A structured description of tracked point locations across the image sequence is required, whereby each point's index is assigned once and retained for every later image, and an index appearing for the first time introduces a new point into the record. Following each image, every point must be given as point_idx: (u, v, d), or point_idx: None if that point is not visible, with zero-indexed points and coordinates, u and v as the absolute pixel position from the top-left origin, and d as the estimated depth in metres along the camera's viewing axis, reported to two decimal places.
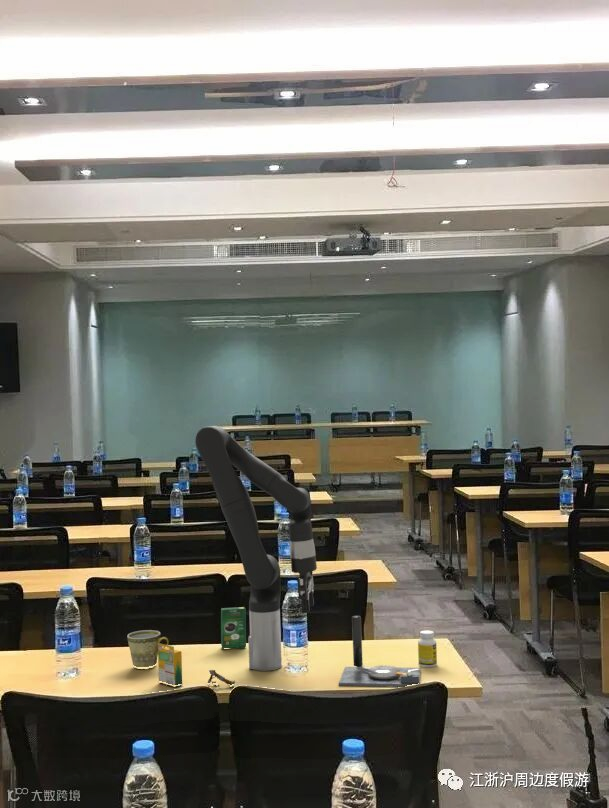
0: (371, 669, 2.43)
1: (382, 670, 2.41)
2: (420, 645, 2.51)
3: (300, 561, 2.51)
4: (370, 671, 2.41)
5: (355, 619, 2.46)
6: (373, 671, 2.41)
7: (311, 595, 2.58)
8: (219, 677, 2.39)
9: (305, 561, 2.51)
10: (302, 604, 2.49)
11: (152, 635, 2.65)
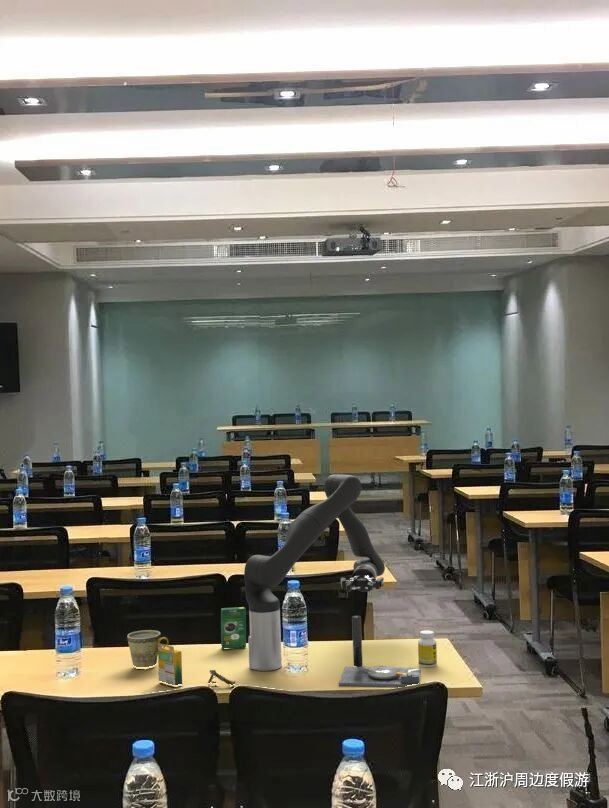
0: (371, 669, 2.43)
1: (382, 670, 2.41)
2: (420, 644, 2.51)
3: (375, 577, 2.74)
4: (370, 671, 2.41)
5: (355, 619, 2.46)
6: (373, 671, 2.41)
7: (351, 588, 2.63)
8: (219, 677, 2.39)
9: None
10: (372, 584, 2.61)
11: (152, 635, 2.65)
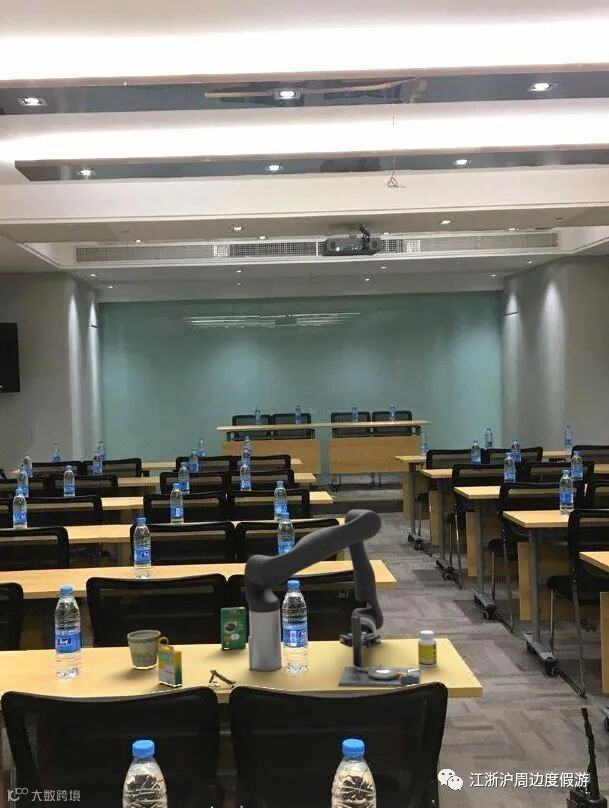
0: (371, 669, 2.43)
1: (382, 670, 2.41)
2: (420, 644, 2.51)
3: (374, 632, 2.64)
4: (370, 671, 2.41)
5: (355, 619, 2.46)
6: (373, 671, 2.41)
7: None
8: (220, 677, 2.39)
9: None
10: (362, 642, 2.51)
11: (152, 635, 2.65)
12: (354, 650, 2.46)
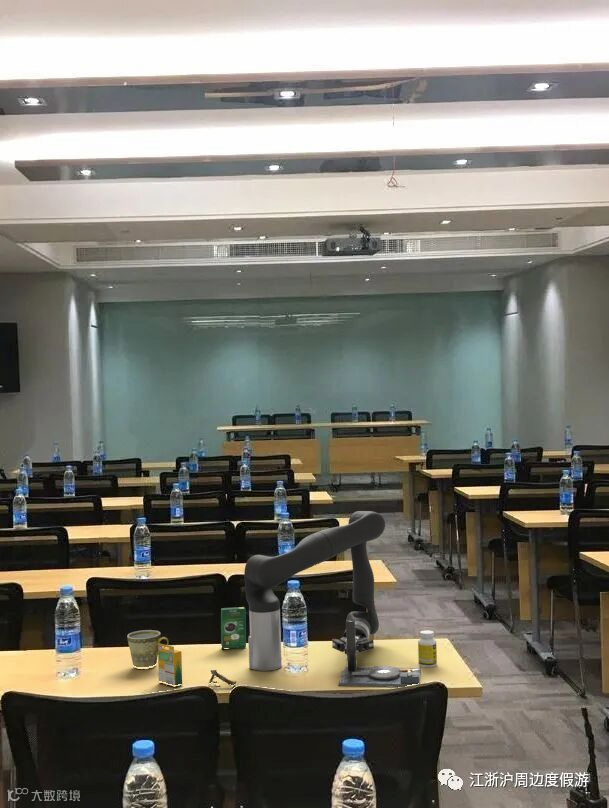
0: (372, 671, 2.40)
1: (383, 670, 2.41)
2: (420, 644, 2.51)
3: (368, 636, 2.59)
4: (375, 673, 2.39)
5: (352, 623, 2.41)
6: (377, 672, 2.39)
7: None
8: (220, 677, 2.39)
9: None
10: None
11: (152, 635, 2.65)
12: (351, 655, 2.41)
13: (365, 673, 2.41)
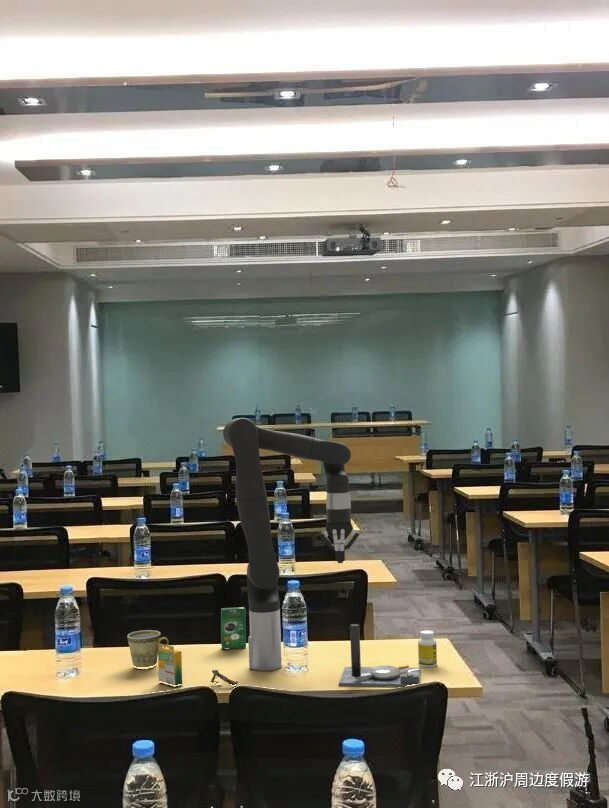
0: (376, 673, 2.39)
1: (384, 670, 2.41)
2: (420, 644, 2.51)
3: (350, 510, 2.64)
4: (382, 674, 2.38)
5: (358, 627, 2.37)
6: (382, 673, 2.39)
7: None
8: (222, 677, 2.39)
9: None
10: (344, 554, 2.64)
11: (152, 635, 2.65)
12: (357, 660, 2.36)
13: (369, 676, 2.38)
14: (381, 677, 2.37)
